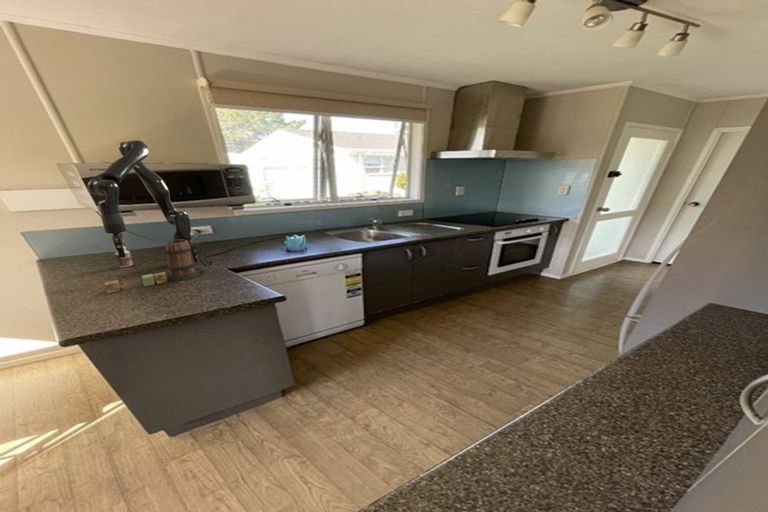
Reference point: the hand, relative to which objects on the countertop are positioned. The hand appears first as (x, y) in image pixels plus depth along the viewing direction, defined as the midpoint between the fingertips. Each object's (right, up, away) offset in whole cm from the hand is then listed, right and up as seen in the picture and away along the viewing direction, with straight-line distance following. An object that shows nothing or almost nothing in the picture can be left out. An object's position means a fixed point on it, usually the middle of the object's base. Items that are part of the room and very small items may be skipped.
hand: (122, 255), depth 143 cm
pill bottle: (0, -5, +2) cm, 6 cm away
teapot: (+64, +5, +74) cm, 98 cm away
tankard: (+17, -11, +25) cm, 32 cm away
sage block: (+5, -15, +10) cm, 19 cm away
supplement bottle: (-29, -6, +35) cm, 45 cm away
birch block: (-6, -18, +1) cm, 19 cm away
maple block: (+10, -14, +13) cm, 21 cm away
